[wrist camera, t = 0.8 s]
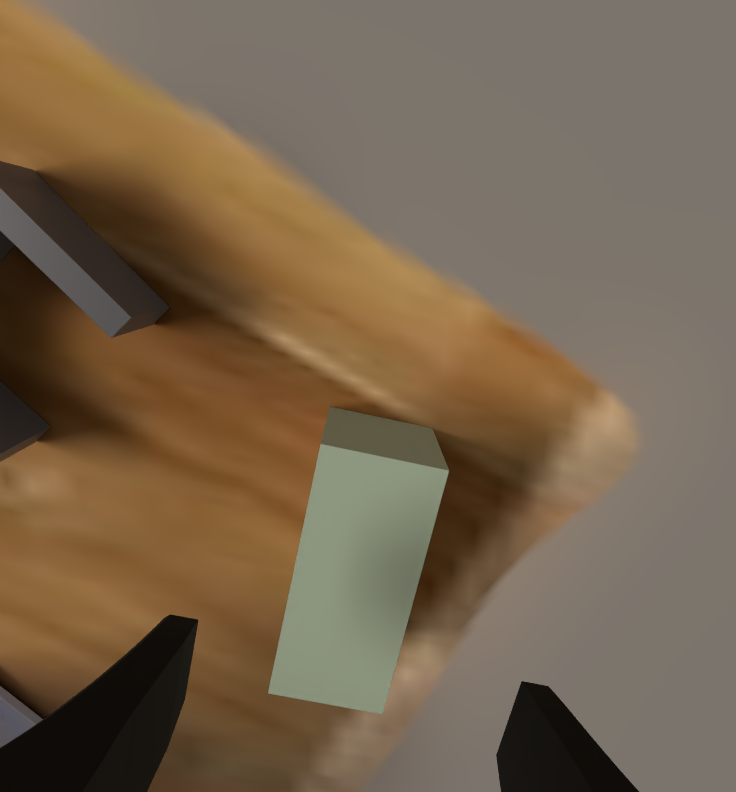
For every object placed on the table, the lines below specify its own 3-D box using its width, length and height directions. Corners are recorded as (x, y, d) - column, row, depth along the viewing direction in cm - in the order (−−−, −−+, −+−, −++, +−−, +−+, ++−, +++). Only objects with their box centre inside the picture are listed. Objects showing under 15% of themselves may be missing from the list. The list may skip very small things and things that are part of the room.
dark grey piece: (35, 442, 19) (-26, 476, 16) (-101, 320, 18) (-194, 332, 15) (170, 307, 18) (131, 317, 15) (33, 170, 17) (-38, 151, 14)
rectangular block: (379, 628, 21) (382, 714, 17) (286, 610, 20) (267, 693, 17) (431, 426, 19) (449, 470, 15) (330, 405, 19) (321, 444, 15)
